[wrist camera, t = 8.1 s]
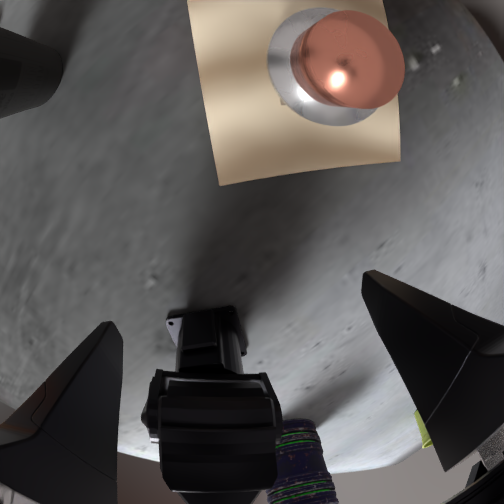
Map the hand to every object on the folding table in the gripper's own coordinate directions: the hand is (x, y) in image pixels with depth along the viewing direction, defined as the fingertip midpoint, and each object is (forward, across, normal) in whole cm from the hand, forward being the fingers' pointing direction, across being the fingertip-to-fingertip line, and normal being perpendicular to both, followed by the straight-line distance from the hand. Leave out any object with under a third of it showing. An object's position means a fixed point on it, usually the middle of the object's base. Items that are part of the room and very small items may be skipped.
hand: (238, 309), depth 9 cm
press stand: (+12, -7, -8) cm, 16 cm away
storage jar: (+13, -2, +39) cm, 41 cm away
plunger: (+11, -7, -8) cm, 16 cm away
